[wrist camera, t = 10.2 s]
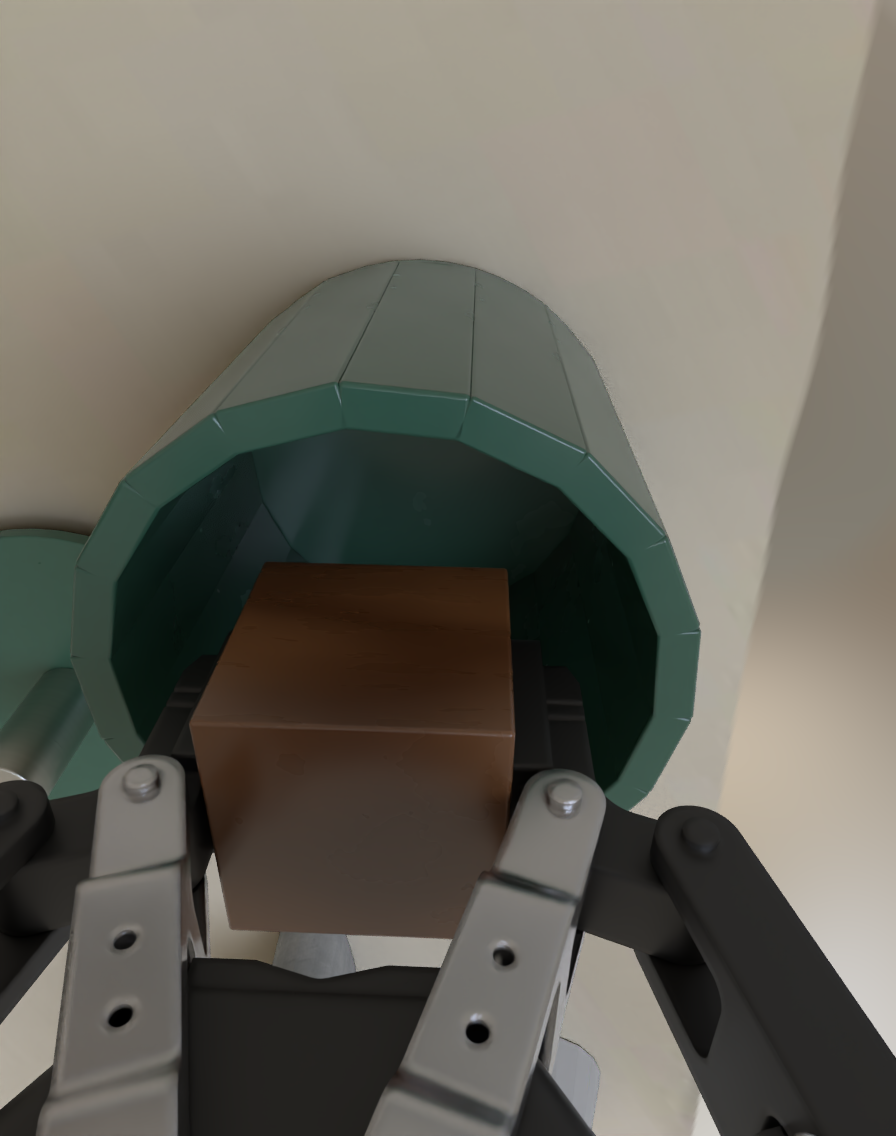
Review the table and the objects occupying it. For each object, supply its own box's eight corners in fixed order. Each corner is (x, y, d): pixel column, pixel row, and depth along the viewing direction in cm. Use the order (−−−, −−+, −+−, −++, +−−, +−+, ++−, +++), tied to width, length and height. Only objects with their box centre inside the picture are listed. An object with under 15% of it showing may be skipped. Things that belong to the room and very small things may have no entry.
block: (286, 743, 18) (228, 932, 14) (263, 559, 15) (186, 723, 11) (498, 750, 17) (501, 943, 13) (507, 566, 15) (516, 733, 11)
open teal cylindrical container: (210, 570, 28) (60, 830, 18) (264, 201, 22) (84, 287, 12) (539, 653, 29) (568, 939, 19) (676, 325, 23) (821, 495, 13)
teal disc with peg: (-82, 757, 33) (-192, 884, 28) (-105, 476, 27) (-253, 571, 21) (232, 825, 34) (186, 960, 29) (284, 574, 28) (236, 687, 23)
